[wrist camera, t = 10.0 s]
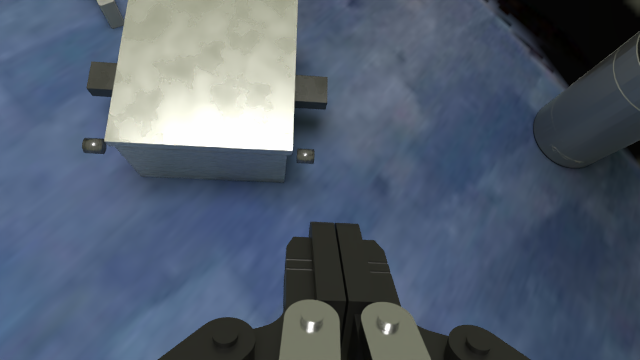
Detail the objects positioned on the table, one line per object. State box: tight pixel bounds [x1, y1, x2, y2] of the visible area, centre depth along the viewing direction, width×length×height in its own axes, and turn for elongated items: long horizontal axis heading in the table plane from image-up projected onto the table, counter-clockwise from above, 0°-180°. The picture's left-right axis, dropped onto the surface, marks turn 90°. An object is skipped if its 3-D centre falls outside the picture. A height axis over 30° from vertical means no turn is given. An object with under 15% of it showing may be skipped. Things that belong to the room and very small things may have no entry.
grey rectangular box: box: [82, 62, 327, 183], centre depth 49 cm, size 17×24×10 cm
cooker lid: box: [104, 0, 298, 155], centre depth 45 cm, size 20×17×1 cm
